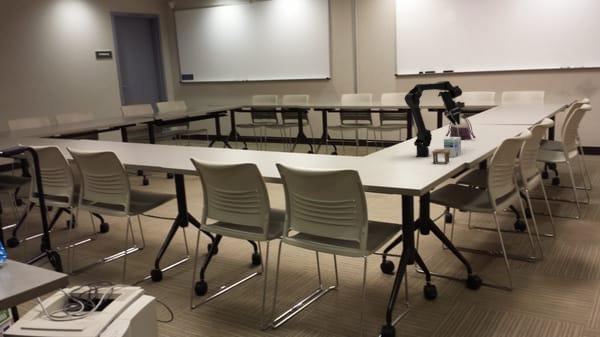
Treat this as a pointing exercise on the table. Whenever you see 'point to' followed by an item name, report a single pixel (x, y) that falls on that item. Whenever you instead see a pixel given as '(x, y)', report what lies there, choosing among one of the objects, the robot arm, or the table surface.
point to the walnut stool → (440, 151)
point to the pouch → (461, 129)
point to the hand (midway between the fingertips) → (457, 124)
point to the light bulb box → (453, 146)
